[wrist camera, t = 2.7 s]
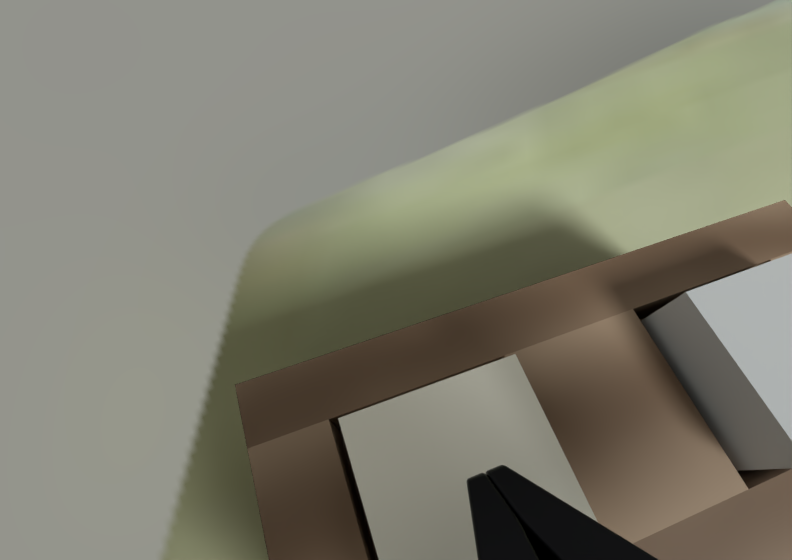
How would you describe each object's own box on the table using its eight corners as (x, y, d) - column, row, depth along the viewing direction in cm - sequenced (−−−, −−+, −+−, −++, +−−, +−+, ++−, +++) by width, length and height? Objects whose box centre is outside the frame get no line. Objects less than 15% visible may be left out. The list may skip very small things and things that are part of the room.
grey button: (851, 414, 14) (958, 397, 12) (726, 471, 14) (811, 467, 11) (747, 283, 16) (818, 243, 14) (634, 325, 16) (685, 291, 13)
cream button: (567, 543, 13) (616, 559, 10) (402, 618, 12) (406, 657, 9) (491, 377, 15) (515, 354, 12) (347, 431, 14) (338, 418, 11)
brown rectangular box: (791, 464, 20) (1025, 452, 13) (348, 670, 17) (316, 820, 9) (666, 284, 24) (789, 197, 17) (288, 419, 21) (232, 383, 13)
